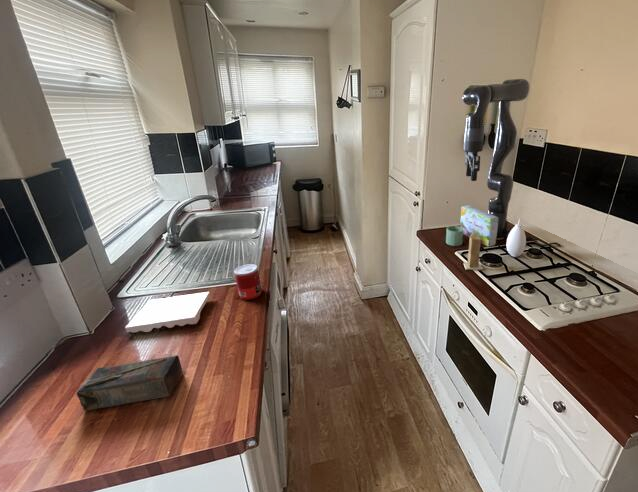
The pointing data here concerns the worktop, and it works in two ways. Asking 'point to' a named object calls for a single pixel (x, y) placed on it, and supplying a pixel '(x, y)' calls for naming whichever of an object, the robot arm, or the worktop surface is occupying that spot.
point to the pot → (454, 235)
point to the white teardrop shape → (516, 240)
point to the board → (472, 268)
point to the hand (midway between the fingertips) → (471, 178)
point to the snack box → (479, 224)
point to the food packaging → (169, 312)
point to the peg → (474, 251)
